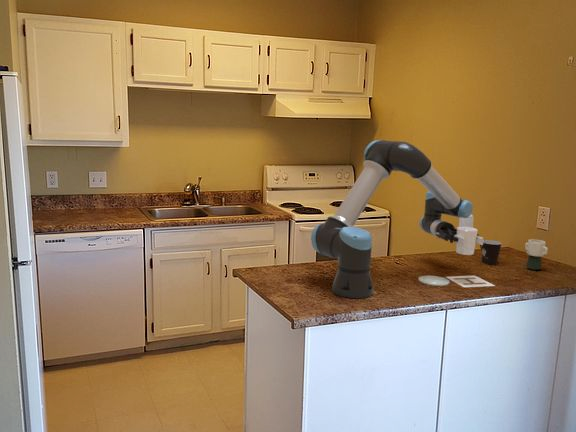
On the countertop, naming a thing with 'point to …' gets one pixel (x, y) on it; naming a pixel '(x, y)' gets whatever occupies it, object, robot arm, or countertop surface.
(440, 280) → the coaster
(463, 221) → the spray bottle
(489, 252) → the coffee mug
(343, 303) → the countertop surface
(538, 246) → the character mug
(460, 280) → the white square tray
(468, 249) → the white cup
